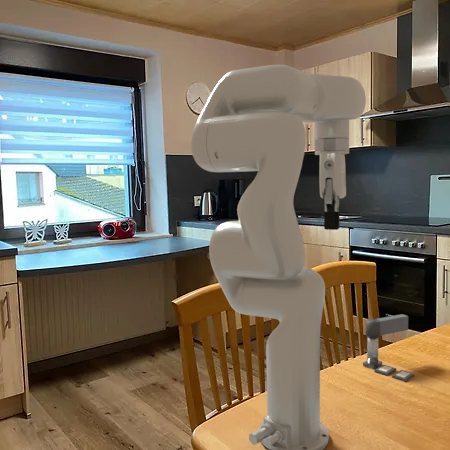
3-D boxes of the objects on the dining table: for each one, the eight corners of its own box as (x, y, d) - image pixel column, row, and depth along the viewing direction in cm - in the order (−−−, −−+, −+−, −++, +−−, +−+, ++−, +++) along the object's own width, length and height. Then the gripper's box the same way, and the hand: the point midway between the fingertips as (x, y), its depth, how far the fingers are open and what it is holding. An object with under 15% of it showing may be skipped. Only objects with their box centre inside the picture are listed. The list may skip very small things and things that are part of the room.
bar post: (373, 369, 114) (374, 340, 113) (362, 365, 116) (363, 337, 116) (382, 364, 117) (382, 336, 116) (371, 361, 119) (371, 333, 118)
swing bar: (410, 330, 118) (410, 316, 118) (372, 338, 114) (372, 323, 113) (400, 326, 122) (400, 313, 121) (362, 334, 117) (362, 320, 116)
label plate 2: (405, 381, 107) (405, 379, 107) (392, 377, 109) (392, 374, 109) (414, 375, 110) (414, 373, 110) (401, 371, 112) (401, 369, 112)
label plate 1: (386, 375, 110) (386, 373, 110) (374, 371, 113) (374, 369, 113) (396, 370, 113) (396, 367, 113) (384, 366, 116) (384, 364, 116)
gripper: (345, 145, 97) (345, 233, 98) (352, 148, 110) (351, 226, 112) (309, 146, 99) (309, 232, 101) (320, 150, 113) (320, 225, 115)
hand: (331, 229), depth 107 cm, fingers closed
